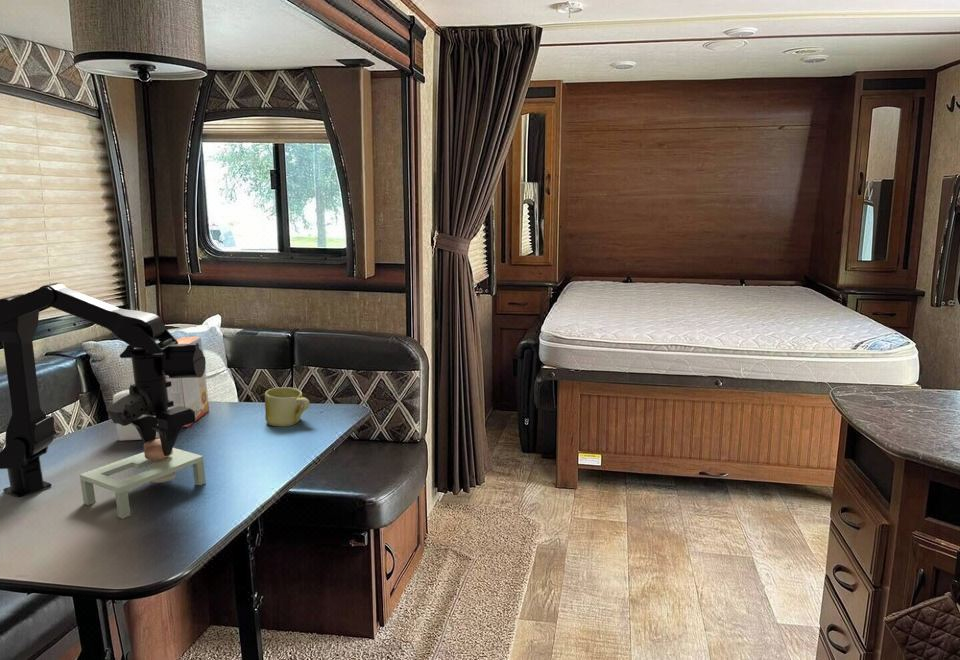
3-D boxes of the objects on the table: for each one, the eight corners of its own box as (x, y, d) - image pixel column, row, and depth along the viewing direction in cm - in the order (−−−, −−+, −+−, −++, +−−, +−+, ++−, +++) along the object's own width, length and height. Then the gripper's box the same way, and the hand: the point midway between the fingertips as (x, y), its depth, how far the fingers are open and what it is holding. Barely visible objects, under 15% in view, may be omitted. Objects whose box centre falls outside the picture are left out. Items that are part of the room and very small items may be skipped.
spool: (142, 479, 144) (137, 444, 143) (165, 471, 148) (161, 436, 147) (158, 485, 141) (153, 449, 140) (181, 475, 146) (177, 441, 144)
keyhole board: (83, 503, 138) (79, 474, 137) (166, 471, 153) (163, 445, 152) (122, 518, 131) (118, 488, 130) (205, 483, 146) (202, 456, 145)
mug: (249, 417, 182) (261, 380, 182) (280, 418, 191) (292, 383, 190) (278, 435, 175) (291, 397, 175) (310, 436, 184) (321, 399, 183)
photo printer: (115, 442, 172) (108, 393, 170) (122, 436, 176) (115, 388, 174) (159, 439, 173) (153, 390, 171) (165, 433, 177) (159, 386, 175)
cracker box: (188, 411, 195) (180, 336, 191) (210, 410, 195) (202, 336, 191) (164, 428, 181) (155, 348, 177) (188, 428, 181) (179, 347, 177)
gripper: (83, 382, 139) (93, 457, 142) (140, 395, 129) (150, 476, 132) (136, 369, 148) (145, 440, 151) (193, 380, 138) (201, 456, 142)
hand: (158, 453), depth 144 cm, fingers closed on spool, 5 cm apart
